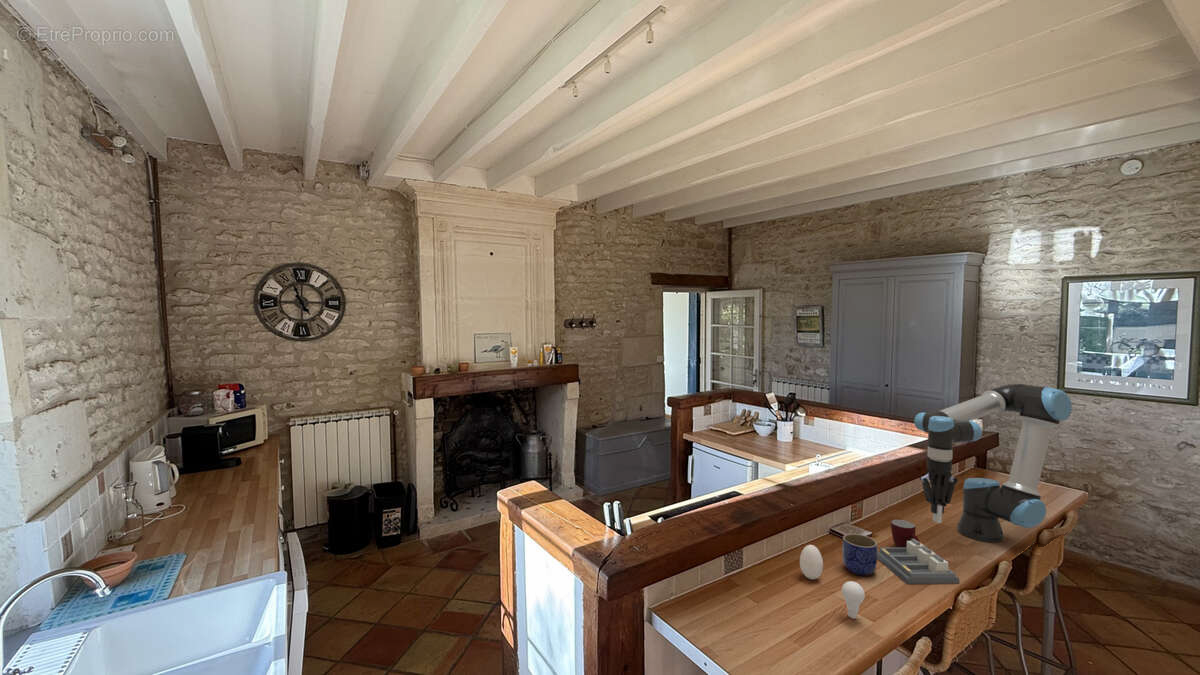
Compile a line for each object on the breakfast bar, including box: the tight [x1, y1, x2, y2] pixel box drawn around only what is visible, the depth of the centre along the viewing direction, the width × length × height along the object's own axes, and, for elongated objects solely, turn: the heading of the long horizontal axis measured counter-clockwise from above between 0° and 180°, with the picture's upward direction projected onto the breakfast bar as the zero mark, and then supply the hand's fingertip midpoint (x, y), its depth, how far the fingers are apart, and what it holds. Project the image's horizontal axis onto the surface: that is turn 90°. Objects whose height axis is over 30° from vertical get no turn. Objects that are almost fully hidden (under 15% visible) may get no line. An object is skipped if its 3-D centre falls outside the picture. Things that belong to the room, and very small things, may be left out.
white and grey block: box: [928, 554, 949, 572], centre depth 168 cm, size 4×4×6 cm
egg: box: [799, 544, 824, 580], centre depth 168 cm, size 7×7×12 cm
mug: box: [890, 519, 920, 548], centre depth 188 cm, size 11×8×10 cm
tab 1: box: [906, 539, 925, 555], centre depth 180 cm, size 4×4×6 cm
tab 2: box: [917, 545, 937, 563], centre depth 174 cm, size 4×4×6 cm
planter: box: [842, 533, 878, 576], centre depth 173 cm, size 11×11×11 cm
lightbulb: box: [841, 580, 866, 620], centre depth 146 cm, size 6×6×11 cm
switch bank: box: [877, 547, 960, 585], centre depth 174 cm, size 18×18×4 cm
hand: (937, 521), depth 180 cm, fingers closed
